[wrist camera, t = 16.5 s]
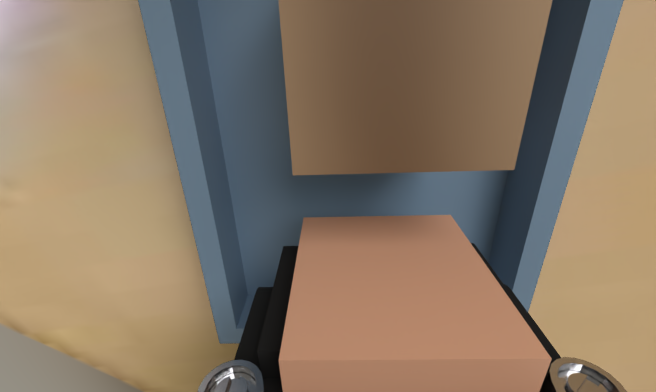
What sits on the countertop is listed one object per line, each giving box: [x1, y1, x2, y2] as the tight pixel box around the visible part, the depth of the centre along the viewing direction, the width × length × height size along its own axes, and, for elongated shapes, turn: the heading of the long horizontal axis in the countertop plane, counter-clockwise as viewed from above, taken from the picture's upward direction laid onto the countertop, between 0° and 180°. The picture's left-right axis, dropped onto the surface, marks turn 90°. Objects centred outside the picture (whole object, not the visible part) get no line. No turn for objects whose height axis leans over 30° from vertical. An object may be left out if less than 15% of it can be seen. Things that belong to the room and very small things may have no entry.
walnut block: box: [278, 0, 552, 175], centre depth 8 cm, size 4×4×5 cm
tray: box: [138, 0, 624, 343], centre depth 11 cm, size 12×15×2 cm
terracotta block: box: [279, 215, 552, 392], centre depth 9 cm, size 4×4×5 cm
